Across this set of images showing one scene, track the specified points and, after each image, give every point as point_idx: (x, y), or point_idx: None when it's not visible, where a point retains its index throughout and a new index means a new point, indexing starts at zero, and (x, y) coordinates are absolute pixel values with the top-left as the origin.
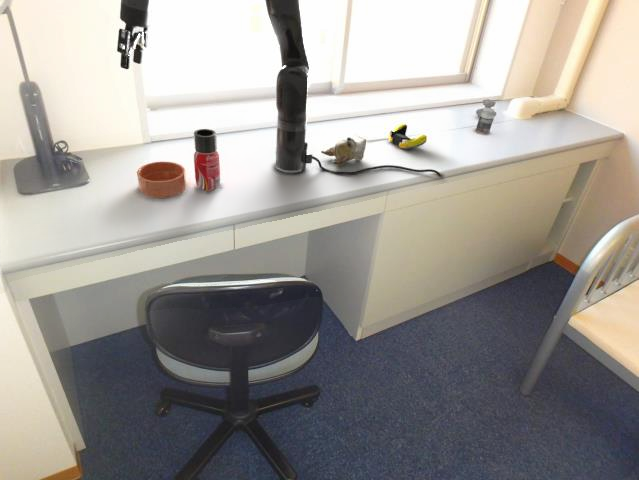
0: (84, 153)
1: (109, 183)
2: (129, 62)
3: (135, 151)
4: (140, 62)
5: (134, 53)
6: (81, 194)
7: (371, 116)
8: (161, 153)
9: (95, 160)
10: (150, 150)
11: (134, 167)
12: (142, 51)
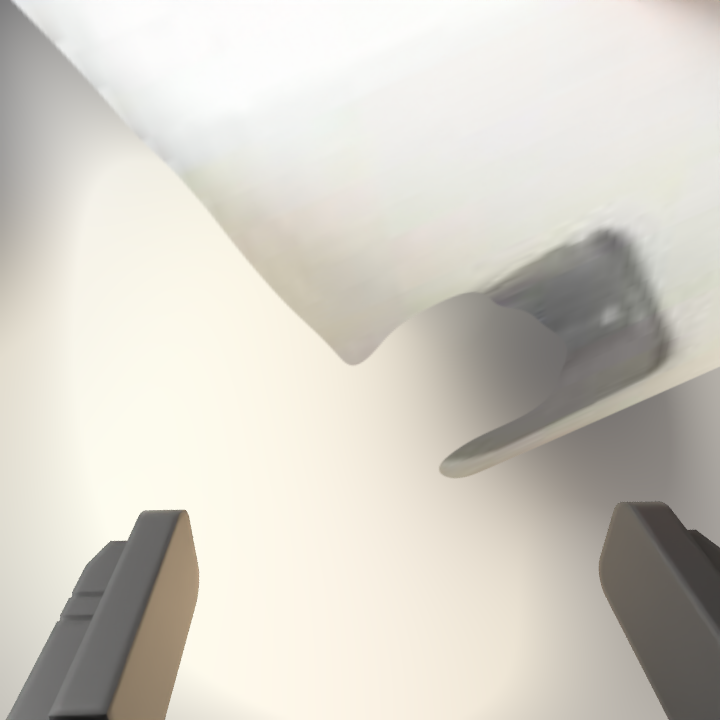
0: (352, 352)
1: (613, 153)
2: (694, 577)
3: (269, 184)
4: (177, 522)
5: (162, 708)
6: (695, 212)
7: None
8: (243, 33)
9: (404, 294)
10: (229, 114)
11: (448, 112)
12: (60, 709)
